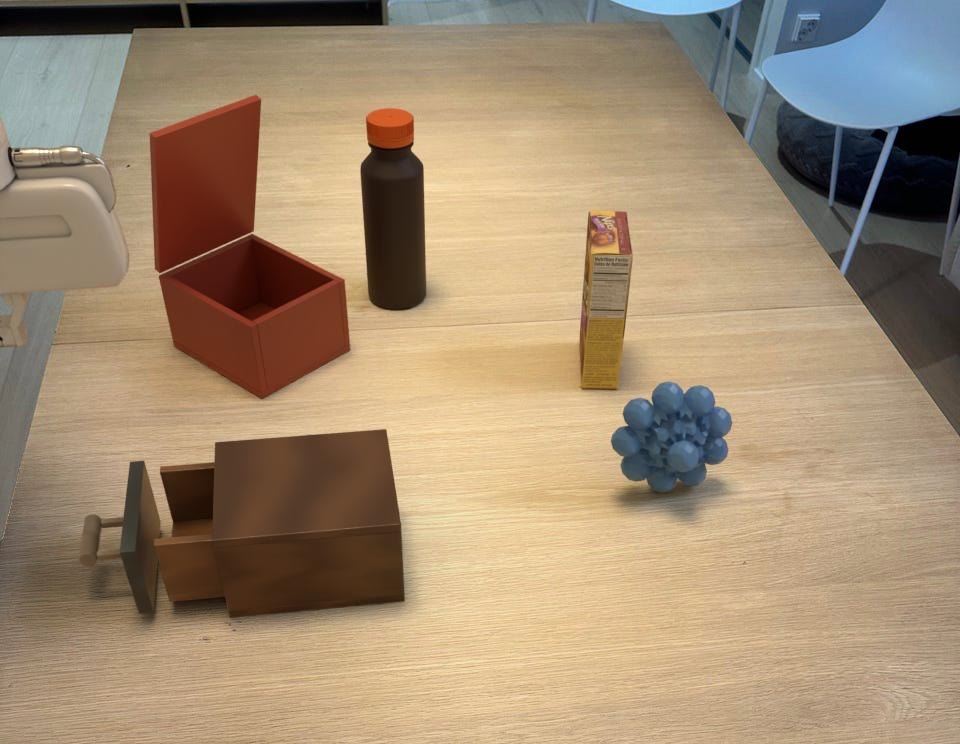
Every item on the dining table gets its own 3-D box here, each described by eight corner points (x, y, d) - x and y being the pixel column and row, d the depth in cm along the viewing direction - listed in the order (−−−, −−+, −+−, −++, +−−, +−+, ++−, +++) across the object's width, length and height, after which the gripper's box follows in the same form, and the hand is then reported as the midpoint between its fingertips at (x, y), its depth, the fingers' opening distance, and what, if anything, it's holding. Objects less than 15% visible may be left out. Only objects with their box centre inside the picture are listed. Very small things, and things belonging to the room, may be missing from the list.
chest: (350, 349, 115) (344, 279, 109) (262, 399, 109) (250, 327, 103) (262, 302, 122) (252, 233, 116) (173, 346, 115) (158, 275, 109)
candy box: (575, 343, 117) (588, 208, 106) (614, 344, 117) (631, 209, 106) (577, 389, 111) (591, 251, 100) (618, 391, 111) (636, 253, 100)
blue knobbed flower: (618, 528, 96) (635, 419, 87) (595, 482, 100) (609, 373, 92) (737, 510, 98) (765, 401, 89) (710, 466, 102) (734, 358, 94)
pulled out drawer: (85, 618, 86) (63, 557, 81) (98, 526, 94) (78, 465, 89) (304, 598, 88) (295, 537, 83) (299, 509, 96) (291, 448, 91)
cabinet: (229, 617, 88) (212, 540, 81) (230, 518, 96) (214, 441, 90) (405, 601, 89) (401, 524, 83) (390, 505, 98) (386, 428, 91)
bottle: (372, 313, 120) (361, 132, 106) (364, 283, 125) (352, 106, 110) (431, 307, 121) (428, 128, 107) (421, 278, 126) (416, 102, 111)
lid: (261, 98, 102) (256, 94, 102) (155, 137, 96) (149, 132, 96) (254, 231, 115) (249, 227, 115) (159, 273, 109) (154, 269, 109)
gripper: (108, 125, 71) (152, 311, 81) (-215, 140, 69) (-127, 330, 79) (99, 164, 67) (147, 356, 77) (-245, 182, 65) (-148, 377, 75)
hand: (6, 343), depth 78 cm, fingers closed
